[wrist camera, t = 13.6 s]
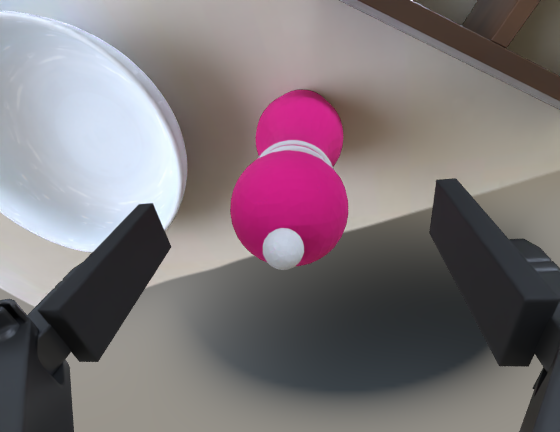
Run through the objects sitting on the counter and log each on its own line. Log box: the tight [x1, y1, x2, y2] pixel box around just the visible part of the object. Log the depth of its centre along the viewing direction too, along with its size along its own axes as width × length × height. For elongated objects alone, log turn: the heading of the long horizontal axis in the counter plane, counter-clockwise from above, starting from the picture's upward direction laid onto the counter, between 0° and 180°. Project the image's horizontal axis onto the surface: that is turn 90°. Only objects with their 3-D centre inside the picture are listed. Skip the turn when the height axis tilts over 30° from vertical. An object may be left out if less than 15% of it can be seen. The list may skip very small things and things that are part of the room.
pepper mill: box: [230, 90, 348, 270], centre depth 21 cm, size 7×7×20 cm
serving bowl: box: [0, 11, 187, 253], centre depth 29 cm, size 21×21×7 cm
